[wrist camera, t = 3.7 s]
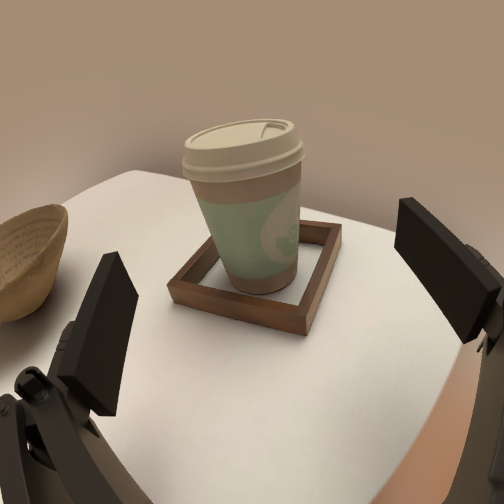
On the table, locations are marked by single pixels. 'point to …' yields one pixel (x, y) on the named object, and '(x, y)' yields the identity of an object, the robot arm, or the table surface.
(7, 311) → the bowl
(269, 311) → the wooden square frame
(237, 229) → the coffee cup
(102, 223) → the table surface
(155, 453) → the table surface
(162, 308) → the table surface
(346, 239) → the table surface
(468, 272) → the robot arm
